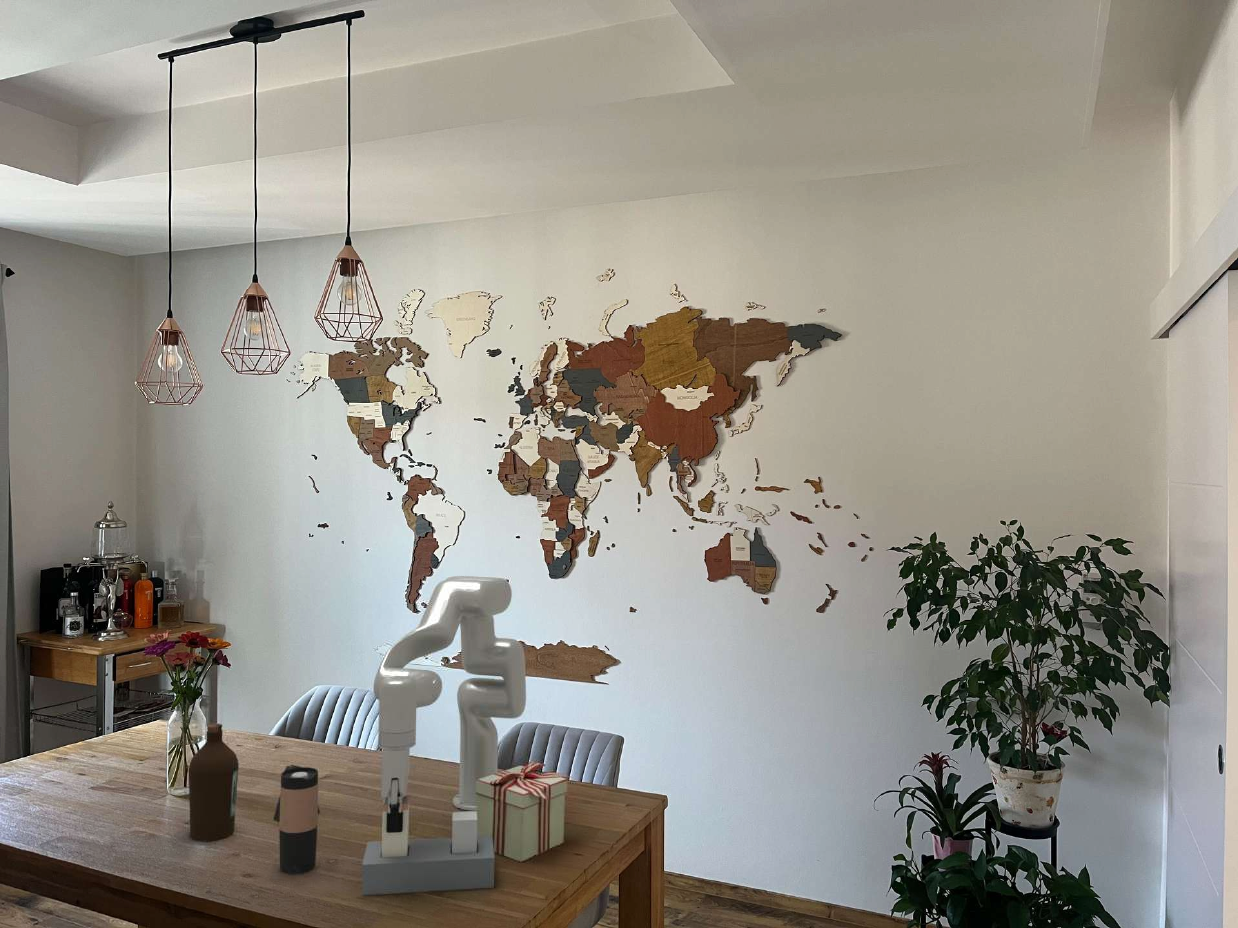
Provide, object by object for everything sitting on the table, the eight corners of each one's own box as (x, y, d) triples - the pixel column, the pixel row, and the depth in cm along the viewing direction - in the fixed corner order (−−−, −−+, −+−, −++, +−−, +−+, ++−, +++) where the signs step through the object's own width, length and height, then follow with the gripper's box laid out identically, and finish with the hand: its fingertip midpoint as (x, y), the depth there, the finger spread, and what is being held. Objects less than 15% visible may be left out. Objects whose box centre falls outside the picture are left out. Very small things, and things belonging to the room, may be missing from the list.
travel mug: (284, 860, 202) (286, 766, 203) (320, 859, 203) (322, 766, 203) (274, 875, 195) (276, 778, 195) (311, 874, 195) (313, 777, 196)
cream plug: (408, 853, 196) (409, 795, 196) (407, 863, 191) (408, 804, 191) (383, 854, 195) (384, 796, 195) (381, 864, 190) (382, 805, 190)
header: (491, 863, 202) (492, 804, 203) (493, 887, 191) (495, 824, 191) (367, 870, 198) (368, 809, 198) (361, 895, 186) (362, 831, 186)
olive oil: (187, 845, 209) (190, 733, 210) (186, 829, 219) (188, 721, 219) (238, 838, 214) (241, 728, 215) (235, 822, 224) (237, 717, 224)
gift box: (536, 867, 201) (537, 786, 201) (470, 848, 210) (471, 771, 211) (581, 842, 215) (582, 766, 215) (517, 825, 225) (518, 753, 225)
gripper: (381, 727, 201) (379, 812, 201) (374, 750, 184) (373, 843, 184) (417, 726, 203) (415, 811, 202) (413, 748, 186) (412, 841, 185)
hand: (395, 825), depth 193 cm, fingers closed on cream plug, 5 cm apart
